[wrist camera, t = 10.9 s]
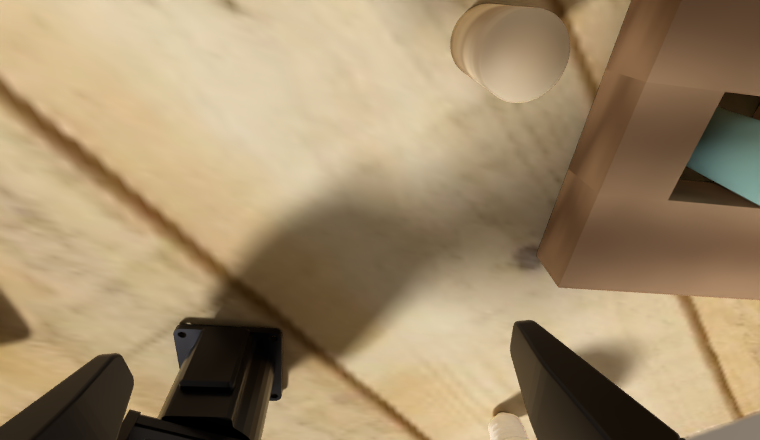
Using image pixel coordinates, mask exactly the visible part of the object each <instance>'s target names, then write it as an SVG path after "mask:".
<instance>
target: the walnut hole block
mask: <svg viewBox="0 0 760 440" xmlns="http://www.w3.org/2000/svg"><path fill="white" fill-rule="evenodd" d="M725 92H730V93H738V94H747V95H755V96H760V0H632V1H631V3H630V6H629V9H628V11H627V14H626V17H625V19H624V22H623V25H622V27H621V30H620V33H619V35H618V38H617V41H616V43H615V46H614V49H613V51H612V54H611V57H610V59H609V62H608V65H607V67H606V70H605V73H604V75H603V78H602V81H601V83H600V86H599V89H598V91H597V94H596V97H595V99H594V102H593V105H592V107H591V110H590V113H589V115H588V118H587V121H586V123H585V126H584V129H583V131H582V134H581V137H580V139H579V142H578V145H577V147H576V150H575V153H574V155H573V158H572V161H571V163H570V166H569V169H568V171H567V174H566V177H565V179H564V182H563V185H562V187H561V190H560V193H559V195H558V198H557V201H556V203H555V206H554V209H553V211H552V214H551V217H550V219H549V222H548V225H547V227H546V230H545V233H544V235H543V238H542V241H541V243H540V246H539V249H538V251H537V254H536V256H537V257H538V258H539V260H540V261H541V263H542V264H543V266H544V267H545V269H546V270H547V272H548V273H549V274H550V276H551V277H552V279H553V280H554V282H555V283H556V285H557V286H558V287H560V288H576V289H591V290H607V291H623V292H639V293H655V294H670V295H686V296H702V297H718V298H734V299H750V300H760V206H759V205H758V204H756V203H754V202H752V201H750V200H748V199H746V198H744V197H743V196H741V195H739V194H737V193H735V192H733V191H731V190H729V189H728V188H726V187H724V186H722V185H720V184H718V183H716V182H715V183H708V182H698V181H687V180H679V178H680V176H681V174H682V172H683V170H684V169H685V167H686V165H687V163H688V161H689V159H690V157H691V155H692V153H693V151H694V150H695V148H696V146H697V144H698V142H699V140H700V138H701V136H702V134H703V133H704V131H705V129H706V127H707V125H708V123H709V121H710V119H711V117H712V115H713V114H714V112H715V110H716V108H717V106H718V104H719V102H720V100H721V98H722V96H723V95H724V93H725ZM752 118H754V119H757V120H760V105H759V106H758V108H757V110H756V112H755V113H754V115H753V117H752Z"/></svg>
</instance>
